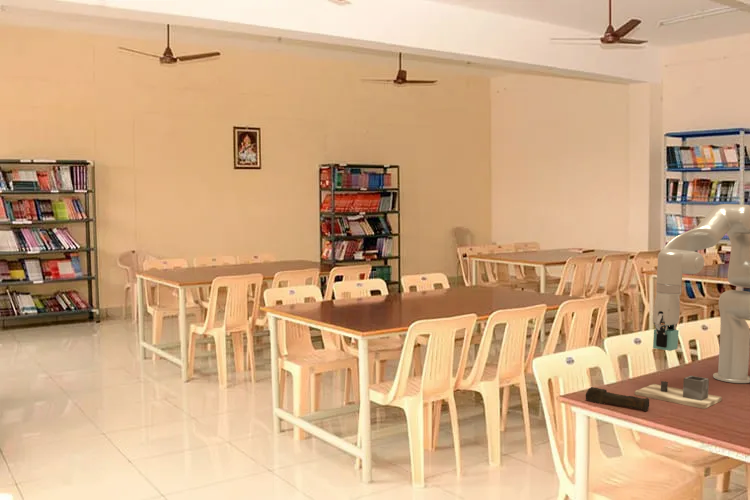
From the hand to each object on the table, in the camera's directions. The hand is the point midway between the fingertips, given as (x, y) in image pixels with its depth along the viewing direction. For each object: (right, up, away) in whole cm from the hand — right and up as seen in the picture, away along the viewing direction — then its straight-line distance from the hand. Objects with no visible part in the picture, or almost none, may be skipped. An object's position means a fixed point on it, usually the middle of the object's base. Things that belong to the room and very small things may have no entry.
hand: (665, 345), depth 241 cm
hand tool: (-20, -17, -13) cm, 29 cm away
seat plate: (+3, -16, -2) cm, 17 cm away
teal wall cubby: (0, -1, 0) cm, 1 cm away
